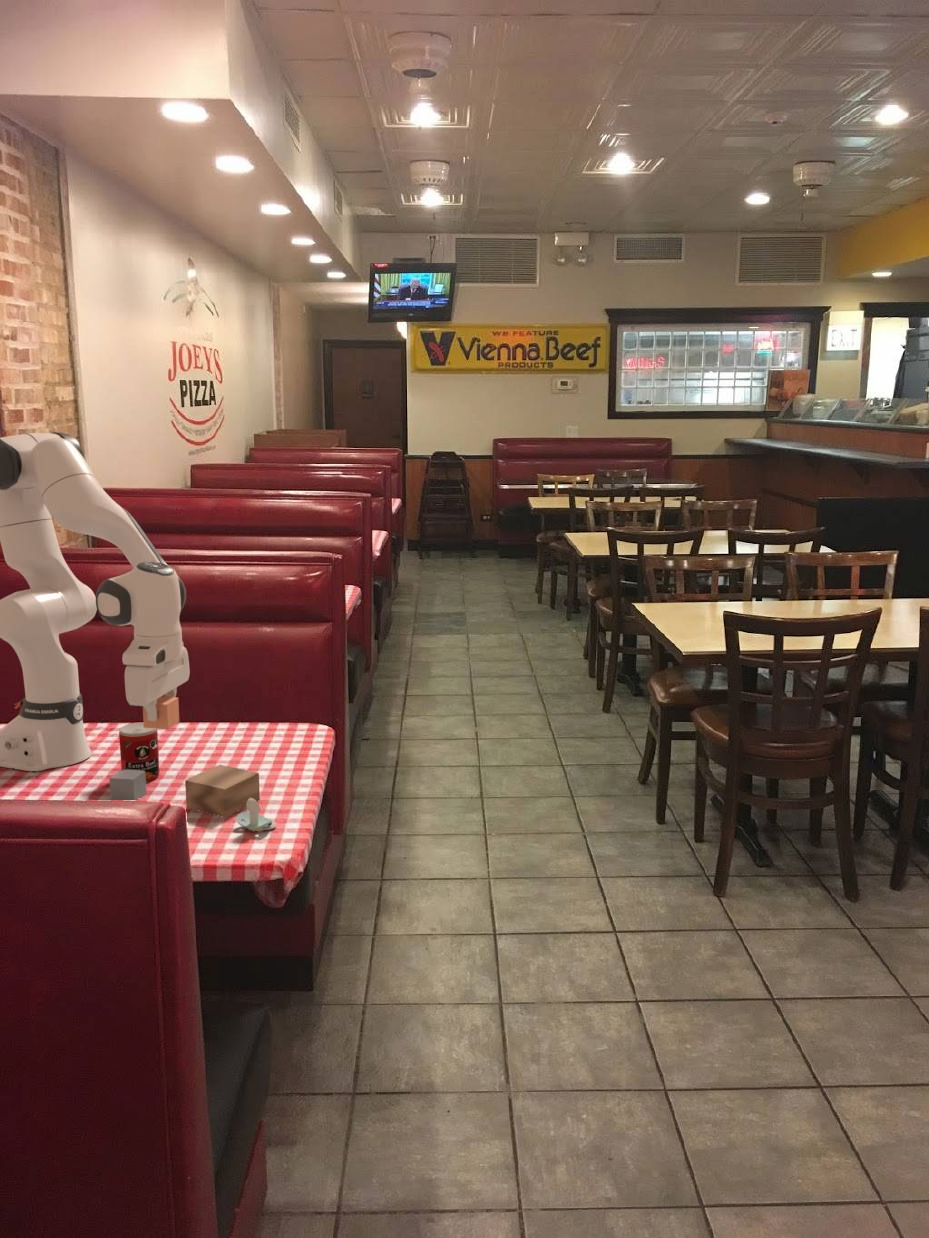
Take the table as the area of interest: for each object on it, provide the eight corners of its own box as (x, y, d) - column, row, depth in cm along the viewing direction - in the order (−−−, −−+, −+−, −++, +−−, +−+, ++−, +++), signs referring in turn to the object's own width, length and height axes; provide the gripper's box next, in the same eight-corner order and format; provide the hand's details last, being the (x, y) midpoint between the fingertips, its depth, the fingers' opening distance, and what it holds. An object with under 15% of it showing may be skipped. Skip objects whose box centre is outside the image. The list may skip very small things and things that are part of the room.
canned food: (125, 786, 197) (121, 735, 195) (119, 773, 204) (116, 724, 202) (163, 780, 200) (160, 730, 198) (156, 768, 207) (153, 720, 205)
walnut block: (186, 809, 186) (185, 780, 185) (221, 792, 195) (219, 764, 194) (226, 818, 182) (225, 789, 180) (259, 801, 190) (258, 772, 189)
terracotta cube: (143, 727, 185) (142, 702, 184) (155, 719, 190) (154, 695, 189) (167, 729, 184) (167, 704, 183) (179, 721, 189) (178, 697, 188)
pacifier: (257, 818, 182) (232, 827, 177) (256, 787, 181) (232, 795, 176) (283, 828, 178) (259, 837, 173) (283, 796, 177) (259, 805, 172)
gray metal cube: (111, 801, 189) (109, 777, 188) (123, 792, 194) (121, 769, 193) (134, 803, 188) (133, 779, 187) (146, 794, 193) (145, 770, 192)
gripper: (167, 634, 194) (169, 699, 197) (117, 657, 174) (120, 729, 177) (196, 636, 193) (198, 701, 196) (149, 660, 174) (152, 732, 176)
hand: (161, 715), depth 186 cm, fingers closed on terracotta cube, 5 cm apart
